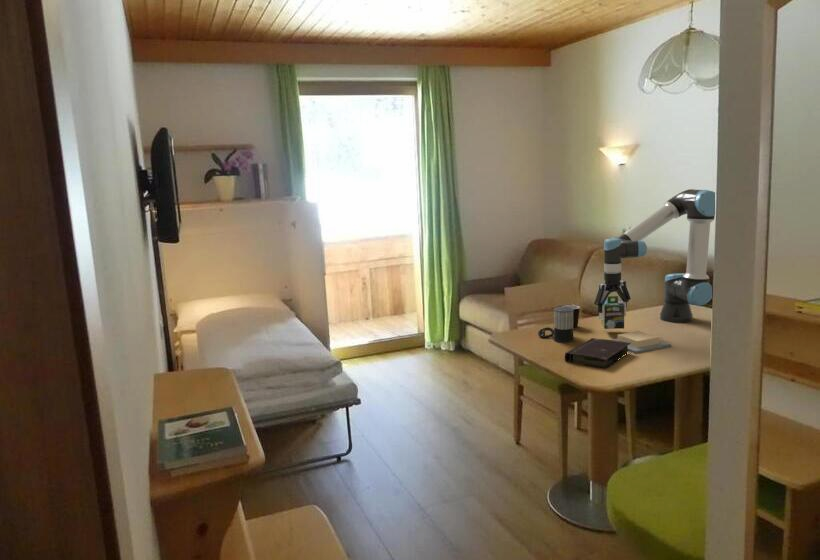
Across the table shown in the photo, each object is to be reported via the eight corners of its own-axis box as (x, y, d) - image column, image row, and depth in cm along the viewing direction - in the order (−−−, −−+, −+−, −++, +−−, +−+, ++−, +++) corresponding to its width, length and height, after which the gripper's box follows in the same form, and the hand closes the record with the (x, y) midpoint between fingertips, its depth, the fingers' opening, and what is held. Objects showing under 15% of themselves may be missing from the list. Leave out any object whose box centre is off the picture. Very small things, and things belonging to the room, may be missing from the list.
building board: (640, 336, 279) (640, 327, 278) (670, 346, 263) (671, 337, 262) (605, 342, 271) (605, 334, 271) (635, 353, 255) (635, 344, 254)
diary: (564, 363, 249) (563, 351, 248) (590, 348, 268) (590, 337, 267) (607, 371, 237) (607, 358, 236) (632, 354, 256) (632, 342, 255)
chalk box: (620, 323, 290) (620, 293, 287) (624, 328, 281) (625, 297, 278) (600, 324, 291) (600, 293, 288) (604, 329, 282) (604, 298, 279)
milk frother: (575, 343, 273) (575, 311, 270) (539, 343, 276) (539, 311, 273) (571, 334, 287) (572, 303, 284) (537, 334, 290) (537, 304, 287)
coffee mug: (580, 329, 295) (580, 309, 293) (562, 329, 297) (562, 309, 295) (578, 323, 306) (578, 303, 304) (561, 322, 308) (561, 303, 306)
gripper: (627, 267, 289) (627, 311, 293) (586, 274, 280) (586, 319, 284) (638, 269, 282) (638, 314, 286) (597, 276, 273) (597, 322, 277)
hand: (612, 317), depth 285 cm, fingers closed on chalk box, 12 cm apart
